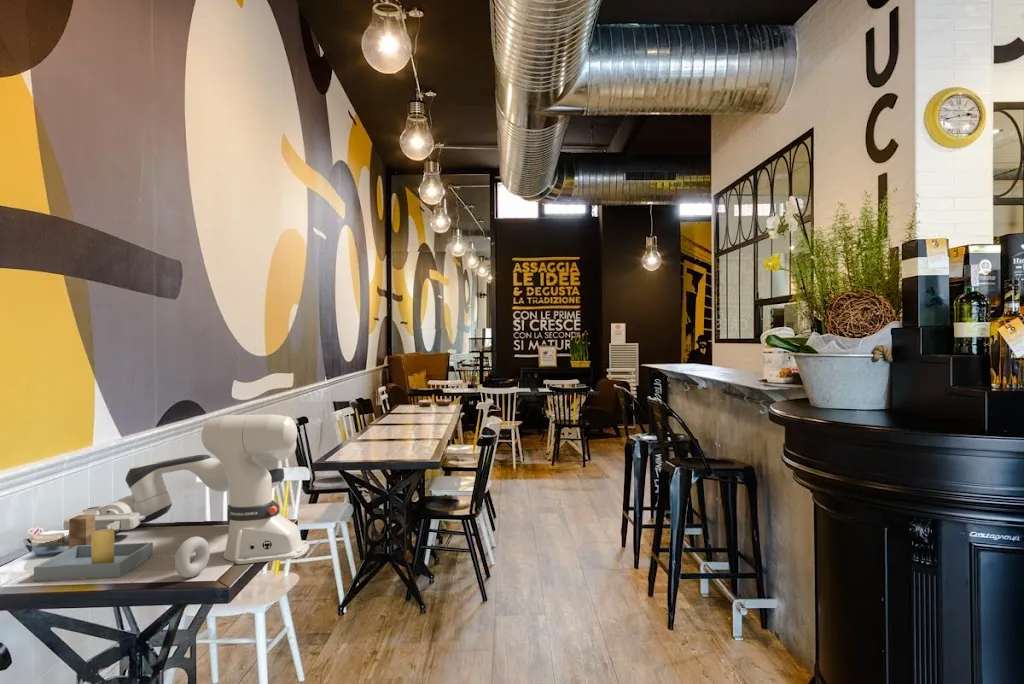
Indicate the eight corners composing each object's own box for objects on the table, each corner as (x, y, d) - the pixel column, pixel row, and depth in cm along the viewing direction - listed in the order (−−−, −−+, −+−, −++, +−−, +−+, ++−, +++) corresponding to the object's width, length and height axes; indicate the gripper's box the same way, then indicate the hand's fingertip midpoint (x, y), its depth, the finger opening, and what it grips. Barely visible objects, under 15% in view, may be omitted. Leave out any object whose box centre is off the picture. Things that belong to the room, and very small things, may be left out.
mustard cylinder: (118, 566, 166) (118, 528, 166) (107, 573, 161) (107, 533, 161) (98, 567, 165) (98, 529, 165) (87, 573, 160) (87, 534, 160)
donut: (182, 584, 153) (181, 543, 154) (171, 583, 154) (170, 542, 155) (213, 570, 163) (212, 532, 163) (202, 569, 164) (202, 531, 164)
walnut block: (95, 548, 183) (95, 514, 183) (86, 553, 179) (85, 518, 179) (79, 549, 183) (78, 515, 183) (69, 554, 178) (69, 519, 179)
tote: (152, 554, 177) (152, 542, 177) (119, 577, 159) (119, 563, 159) (76, 558, 175) (76, 545, 175) (33, 581, 157) (33, 567, 157)
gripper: (148, 525, 199) (125, 538, 186) (80, 528, 198) (52, 542, 184) (148, 505, 199) (125, 517, 186) (79, 508, 198) (51, 520, 184)
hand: (88, 529), depth 185 cm, fingers open, 8 cm apart
